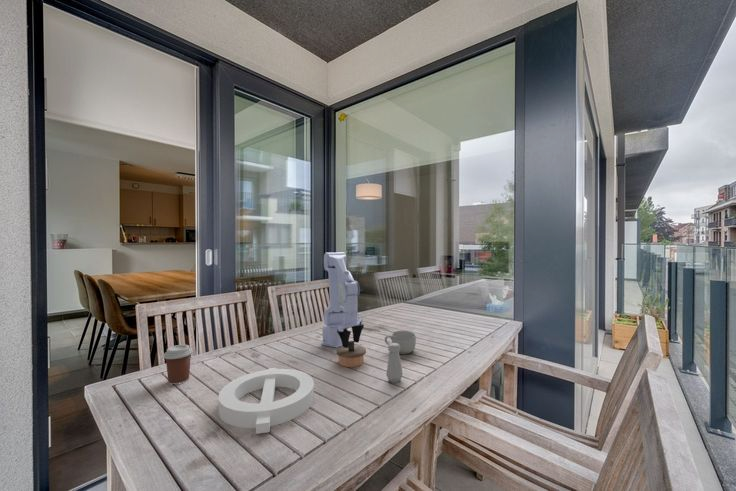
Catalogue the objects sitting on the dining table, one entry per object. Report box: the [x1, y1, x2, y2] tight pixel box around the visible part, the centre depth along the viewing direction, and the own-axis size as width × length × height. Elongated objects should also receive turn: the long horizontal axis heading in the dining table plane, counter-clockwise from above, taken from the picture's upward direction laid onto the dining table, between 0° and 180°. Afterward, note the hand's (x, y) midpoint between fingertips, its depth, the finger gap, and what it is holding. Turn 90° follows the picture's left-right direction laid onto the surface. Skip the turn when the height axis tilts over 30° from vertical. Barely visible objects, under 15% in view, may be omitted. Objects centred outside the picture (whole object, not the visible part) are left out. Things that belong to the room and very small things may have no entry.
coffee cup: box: [163, 344, 194, 385], centre depth 113 cm, size 9×9×12 cm
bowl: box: [338, 355, 364, 368], centre depth 129 cm, size 10×10×4 cm
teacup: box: [384, 330, 417, 355], centre depth 141 cm, size 14×11×8 cm
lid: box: [336, 340, 367, 358], centre depth 129 cm, size 12×12×4 cm
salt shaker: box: [385, 342, 404, 384], centre depth 112 cm, size 6×6×13 cm
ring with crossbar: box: [217, 367, 315, 435], centre depth 98 cm, size 28×28×5 cm
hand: (350, 344), depth 129 cm, fingers open, 7 cm apart
